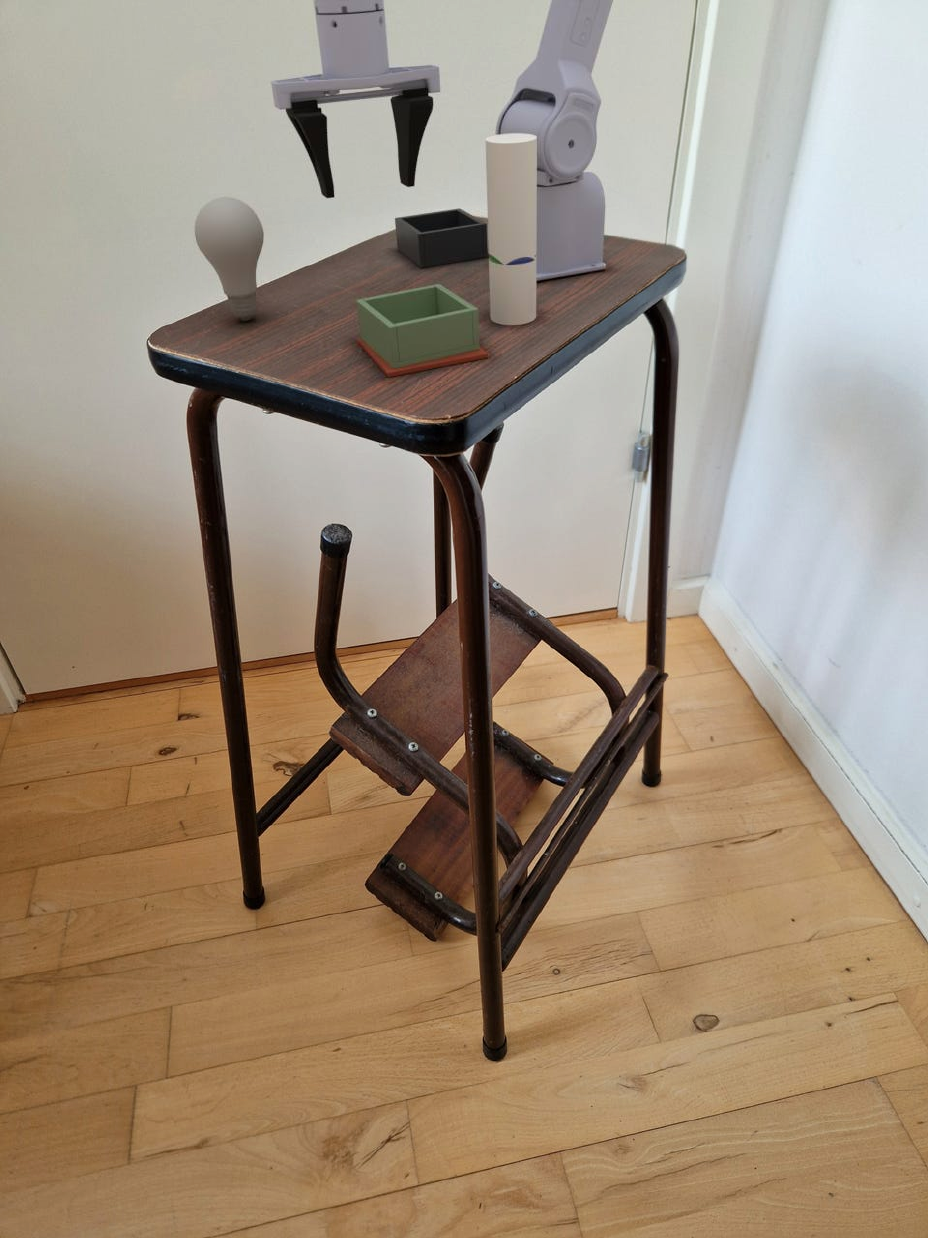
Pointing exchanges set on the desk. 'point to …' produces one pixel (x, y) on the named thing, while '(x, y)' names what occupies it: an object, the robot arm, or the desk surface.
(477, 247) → the box
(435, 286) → the box
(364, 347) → the mat
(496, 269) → the tube
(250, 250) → the lightbulb
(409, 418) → the desk surface
